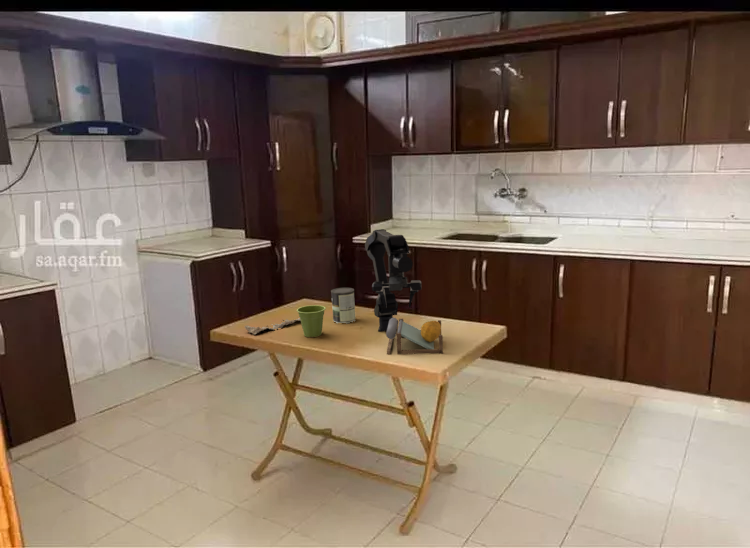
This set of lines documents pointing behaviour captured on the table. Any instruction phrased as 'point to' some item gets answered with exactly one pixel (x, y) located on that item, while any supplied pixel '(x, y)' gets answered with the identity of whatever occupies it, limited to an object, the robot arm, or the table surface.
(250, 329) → the crumpled grey wrapper
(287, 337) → the table surface
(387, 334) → the trapdoor
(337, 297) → the coffee can
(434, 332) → the potato
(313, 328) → the plant pot
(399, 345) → the trapdoor frame
